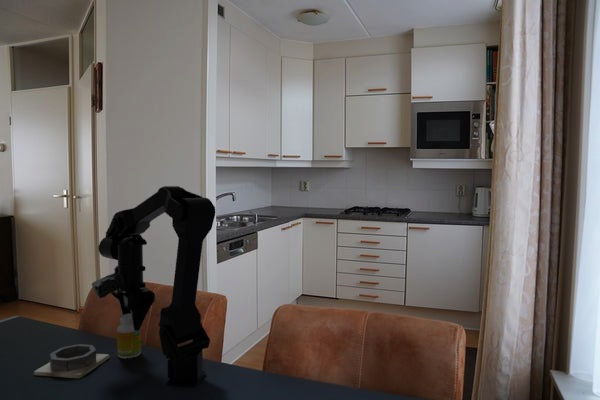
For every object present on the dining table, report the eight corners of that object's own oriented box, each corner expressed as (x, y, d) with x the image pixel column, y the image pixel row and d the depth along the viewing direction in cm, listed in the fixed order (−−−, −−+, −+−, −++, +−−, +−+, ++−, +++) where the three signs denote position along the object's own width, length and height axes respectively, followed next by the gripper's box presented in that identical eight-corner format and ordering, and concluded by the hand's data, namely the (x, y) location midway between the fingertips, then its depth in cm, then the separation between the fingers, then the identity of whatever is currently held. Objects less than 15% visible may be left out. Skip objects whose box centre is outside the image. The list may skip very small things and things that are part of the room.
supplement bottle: (135, 359, 103) (135, 319, 102) (113, 359, 103) (113, 319, 102) (144, 350, 108) (144, 312, 108) (123, 350, 108) (122, 312, 108)
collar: (109, 357, 104) (109, 344, 103) (79, 378, 93) (79, 363, 93) (68, 354, 105) (67, 341, 105) (34, 374, 94) (33, 360, 94)
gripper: (86, 260, 108) (87, 321, 108) (103, 273, 93) (105, 344, 93) (132, 255, 114) (133, 313, 115) (155, 267, 99) (156, 333, 100)
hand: (131, 325), depth 106 cm, fingers open, 9 cm apart
